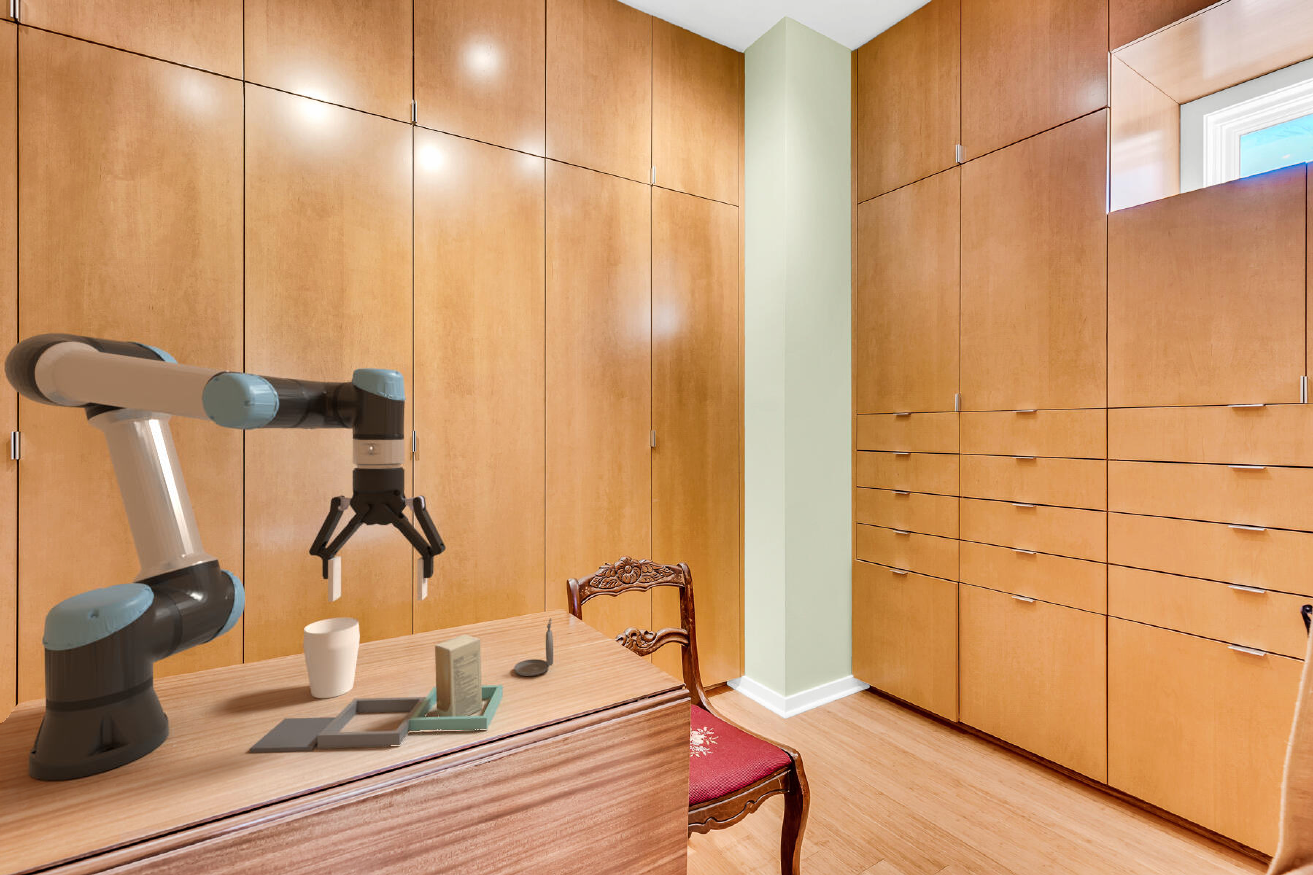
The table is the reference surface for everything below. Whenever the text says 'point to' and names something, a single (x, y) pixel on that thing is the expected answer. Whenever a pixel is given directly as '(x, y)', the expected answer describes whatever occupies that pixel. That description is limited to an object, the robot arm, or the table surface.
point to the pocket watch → (538, 665)
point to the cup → (331, 655)
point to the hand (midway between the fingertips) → (378, 598)
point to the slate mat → (292, 735)
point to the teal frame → (457, 722)
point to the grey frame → (337, 739)
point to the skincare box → (458, 676)
